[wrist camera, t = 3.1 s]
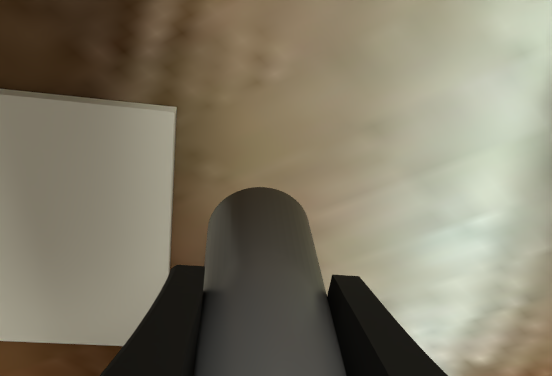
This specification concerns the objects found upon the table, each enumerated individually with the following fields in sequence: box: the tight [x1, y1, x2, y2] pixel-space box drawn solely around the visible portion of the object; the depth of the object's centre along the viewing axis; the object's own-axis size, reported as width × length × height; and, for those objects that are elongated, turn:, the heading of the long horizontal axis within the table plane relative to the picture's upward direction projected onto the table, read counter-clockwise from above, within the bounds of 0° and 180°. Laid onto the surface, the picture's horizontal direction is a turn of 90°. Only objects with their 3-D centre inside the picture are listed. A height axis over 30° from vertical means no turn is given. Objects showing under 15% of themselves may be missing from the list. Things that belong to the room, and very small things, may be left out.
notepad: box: [0, 89, 177, 346], centre depth 20 cm, size 12×10×1 cm
